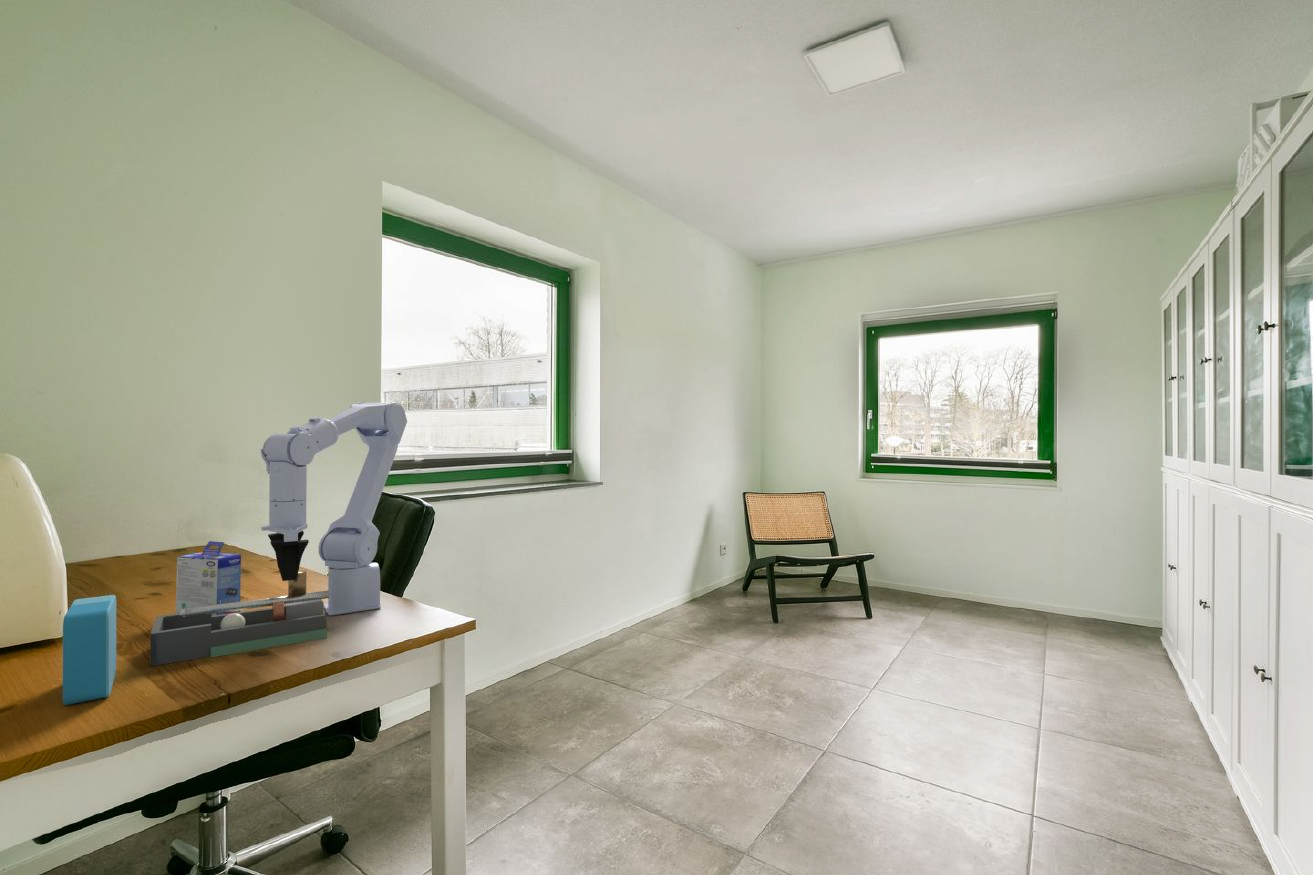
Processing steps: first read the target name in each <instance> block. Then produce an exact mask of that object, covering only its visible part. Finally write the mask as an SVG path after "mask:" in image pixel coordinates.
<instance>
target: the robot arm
mask: <svg viewBox="0 0 1313 875" xmlns="http://www.w3.org/2000/svg"><path fill="white" fill-rule="evenodd" d="M406 416H407V415H406V411H405V409H404V407H403V405H402V404H401V403H399V402H398V401H397V402H396V401H392V402H365V401H359V402H357V403H354V404H350V406H349V407H348V409H346V410H344V411H343V412H342V411H341V412H340V413H339V414H337V415H335V416H333V417H331V418H330V419H327V418H324V417H320V416H313V417H310V418H308V422H307V423H305V424H302V425H300V426H292V427H289V428H290V429H289V431H287V432H286V433H277V432H276V433H274V434H271V435H270V436H269V437H267V439H266V440H265V441H264V443H263V447H262V448H260V455H261V457H262V460H263V461H264V462H265V464H266V465H265V466H266V472H267V474H268V475H269V477H268V479H269V480H268V482H269V486H268V487H269V489H268V490H269V492H268V494H269V495H268V496H269V499H268V500H269V503H268V504H269V505H268V506H269V507H268V512H269V513H268V524H265V525H264V524H263V525H261V527H260V529H261V530H260V531H262V532H265V531H266V532H267V531H268V532H272V533H269V534H267V536H268V539H270V546H271V547H272V548H273V550H274V554H275V558H276V563H277V569H278V572H279V573H280V577H281V580H282V582H288V581H289V580H296V578H297V575H298V571H300V567H301V565H300V564H301V561H302V557H303V554H304V552H305V550H306V549H307V546H308V544H309V542H310V541H309V539H302V538H303V536H304V534H305V532H304V530H306V529H308V526H309V525H308V522H307V483H308V482H307V472H308V471H307V470H308V469H307V467H308V465H310V464H311V463H312V461H313V460H314V458H315V455H316V454H318V453H320V452H322V451H324V450H325V449H327V448H330V447H331V446H334V444H336V443H337V442H338V440H339V436H340V435H343V434H344V433H347V432H350V431H352V430H354V429H355V430H356V433H357V434H358V436H359V437H360V439H361V441H362V442H363V443H364V444H365V445H367V446H368V449H369V450H368V452H367V454H366V457H365V460H364V462H363V465H362V467H361V470H360V473H359V475H358V478H357V481H356V482H355V486H354V488H353V492H352V494H351V497H350V499H349V502H348V505H347V507H346V509H345V512H344V514H343V516H341V517H339V518H338V519H336V520H335V521H333V522H331V523H330V524H329V528H328V529H327V531H326V532H325V534H324V535H323V536H322V537H321V539H320V541H319V542H318V555H319V558H320V559H321V560H322V561H324V565H325V567H327V568H328V569H327V571H328V573H327V578H328V579H327V581H328V583H327V584H328V585H327V587H328V588H327V591H328V590H329V598H327V603H324V609H325V610H324V611H325V612H326V613H327V615H328V616H336V615H337V616H338V615H342V614H343V615H344V614H348V613H349V614H350V613H357V612H362V611H363V612H364V611H369V610H376V609H381V608H382V607H381V573H380V572H381V571H380V566H379V563H378V562H373V560H374V559H375V557H376V555H377V552H378V542H379V541H378V540H379V537H380V534H381V533H380V531H379V529H378V528H377V527H376V525H375V524H374V523H373V519H374V517H375V513H376V510H377V507H378V504H379V502H380V499H381V496H382V494H383V492H384V487H385V485H386V482H387V479H388V476H389V474H390V470H391V468H392V466H393V462H394V460H395V457H396V455H397V452H398V448H399V444H400V443H401V440H402V438H403V434H404V432H405V429H406V426H407V424H408V419H407V417H406Z"/></svg>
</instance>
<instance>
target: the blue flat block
mask: <svg viewBox="0 0 1313 875" xmlns="http://www.w3.org/2000/svg"><path fill="white" fill-rule="evenodd" d="M116 671H117V596H116V595H115V594H109V595H102V596H93V597H86V598H78V599H74V600H72V603H71V605H70V607H69V608H68V610H67V612H66V613H65V614H64V617H63V622H62V703H63V705H64V706H69V705H73V704H79V703H85V702H88V701H94V700H98V699H103V698H104V699H105V698H109V697H110V695H111V692H112V689H113V684H114V680H115V677H116V674H117V673H116Z"/></svg>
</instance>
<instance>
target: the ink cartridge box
mask: <svg viewBox="0 0 1313 875" xmlns="http://www.w3.org/2000/svg"><path fill="white" fill-rule="evenodd" d="M224 544H225V542H222V541H214V540H213V541H211V540H209V541H208V542H207V544H206V545H205V547H204V550H203V551H202V552H194V553H190V554H184V555H180V556H177V557H176V559H177V560H176V580H175V581H176V586H175V587H176V588H175V613H174V614H177V613H180V611H181V610H183V609H188V608H195V607H203V606H211V605H219V604H227V603H234V602H241V589H242V588H241V584H242V582H241V580H242V579H241V578H242V575H241V574H242V554H241V553H225V552H224V553H222V552H221V550H222V549H223V546H224ZM211 546H217V547H218V548H217V549H215V548H210V547H211ZM236 612H241V610H237V611H230V612H222V613H215V614H212V616H214V615H221V614H229V613H236Z"/></svg>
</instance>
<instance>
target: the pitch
mask: <svg viewBox="0 0 1313 875" xmlns="http://www.w3.org/2000/svg"><path fill="white" fill-rule="evenodd" d="M324 604H325V603H324V601H323V599H319V600H311V601H304V602H296V603H289V604H284V620H282V621H275V622H272V607H267V608H265V607H264V608H260V609H259V608H257V609H253V610H252V609H251V610H243V611H240V612H236V613H237V614H240V615H242V616H243V617H244V619H245V626H241V627H235V628H228V629H221V627H220V625H221V621H222V620H223V619H224V618H225V617H226V616H227V615H229V614H233V613H229V614H221V615H214V616H212V614H208V615H200V616H193V617H185V618H183V617H181V616H180V613H177V614H175V613H172V614H170V613H169V614H163V615H156V616H155V619H154V623H153V625H152V629H151V632H150V667H155V666H161V665H167V664H173V663H177V662H184V661H189V660H191V661H192V660H197V659H203V658H208V657H210V658H216V657H222V656H227V655H228V656H229V655H235V654H240V653H245V652H250V651H251V652H252V651H257V650H263V649H270V648H274V647H281V646H282V647H283V646H286V645H293V644H299V643H305V642H304V641H306V642H310V641H311V642H312V641H316V640H323V639H327V638H328V628H327V623H328V622H327V615H328V614H326V613H325V612H324V611H325V610H324V609H325V608H324Z"/></svg>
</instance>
